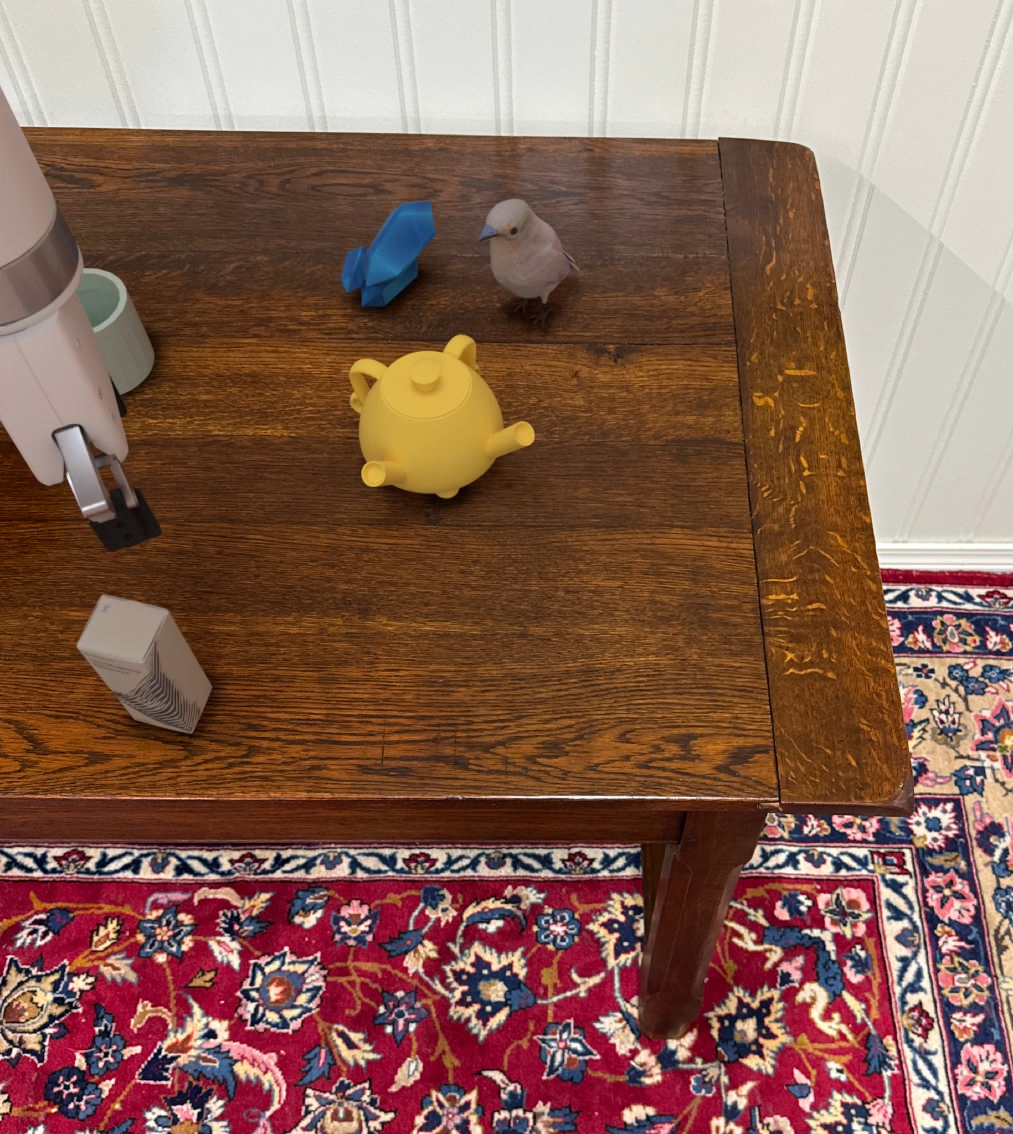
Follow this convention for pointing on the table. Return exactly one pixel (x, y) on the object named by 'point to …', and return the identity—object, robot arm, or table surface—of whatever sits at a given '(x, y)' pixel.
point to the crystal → (390, 255)
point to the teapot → (430, 420)
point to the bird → (525, 253)
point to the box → (145, 663)
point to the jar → (116, 328)
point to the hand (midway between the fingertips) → (118, 477)
